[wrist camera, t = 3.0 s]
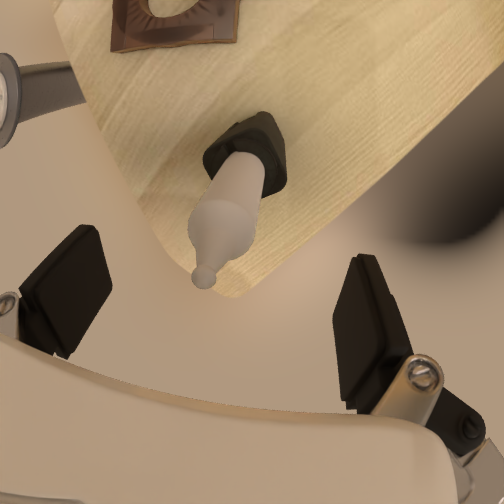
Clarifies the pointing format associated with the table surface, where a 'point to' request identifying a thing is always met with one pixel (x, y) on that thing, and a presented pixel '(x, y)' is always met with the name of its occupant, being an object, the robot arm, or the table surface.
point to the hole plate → (172, 25)
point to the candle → (235, 193)
